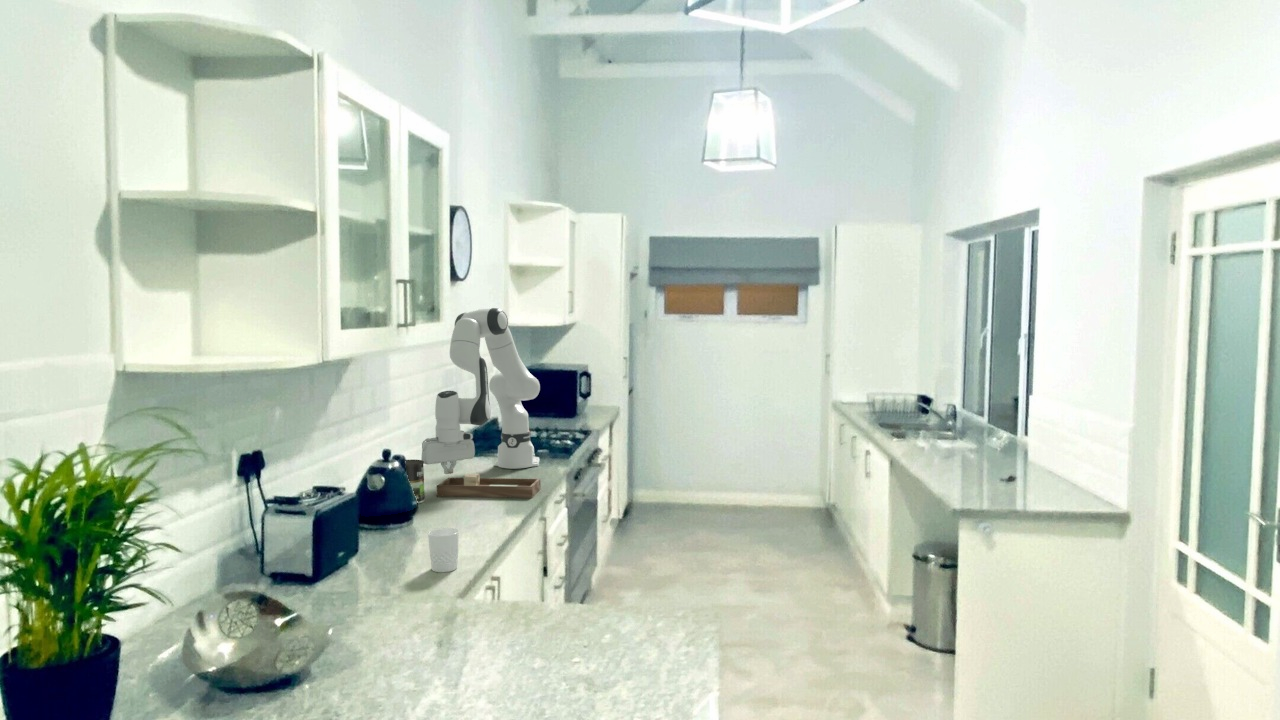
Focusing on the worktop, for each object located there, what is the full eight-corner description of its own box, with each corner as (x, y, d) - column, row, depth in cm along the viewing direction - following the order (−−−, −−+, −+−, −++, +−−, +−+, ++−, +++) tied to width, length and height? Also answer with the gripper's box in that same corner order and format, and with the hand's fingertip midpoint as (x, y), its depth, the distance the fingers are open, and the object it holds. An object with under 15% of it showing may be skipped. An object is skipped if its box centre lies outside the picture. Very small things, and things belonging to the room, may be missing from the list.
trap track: (448, 488, 329) (448, 477, 328) (540, 489, 325) (540, 478, 324) (436, 496, 316) (436, 485, 316) (532, 497, 312) (532, 486, 312)
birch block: (467, 485, 323) (467, 473, 323) (479, 485, 323) (479, 473, 323) (464, 488, 319) (463, 476, 319) (476, 488, 318) (475, 476, 318)
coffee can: (428, 498, 314) (427, 459, 313) (420, 505, 304) (419, 464, 302) (399, 498, 314) (398, 459, 313) (390, 505, 304) (389, 465, 303)
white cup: (449, 574, 229) (448, 537, 228) (423, 571, 232) (422, 534, 231) (465, 565, 237) (464, 529, 236) (440, 562, 239) (438, 526, 239)
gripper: (426, 440, 311) (427, 478, 312) (476, 434, 325) (477, 471, 325) (417, 438, 316) (418, 476, 317) (467, 432, 329) (468, 468, 330)
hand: (448, 473), depth 321 cm, fingers closed
